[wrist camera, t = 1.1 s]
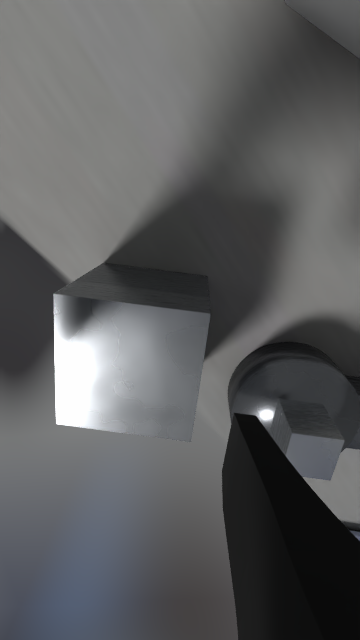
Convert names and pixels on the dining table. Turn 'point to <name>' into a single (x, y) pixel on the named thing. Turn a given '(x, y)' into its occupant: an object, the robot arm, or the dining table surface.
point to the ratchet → (299, 404)
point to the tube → (333, 19)
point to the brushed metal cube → (131, 350)
